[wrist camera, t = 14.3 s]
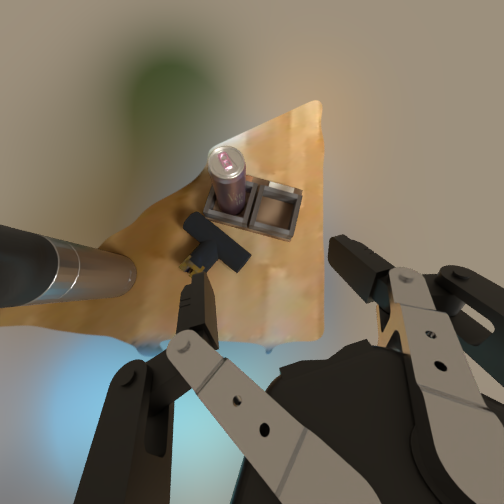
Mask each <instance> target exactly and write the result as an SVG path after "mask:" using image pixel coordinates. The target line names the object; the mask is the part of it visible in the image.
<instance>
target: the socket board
mask: <svg viewBox="0 0 504 504" xmlns="http://www.w3.org/2000/svg"><path fill="white" fill-rule="evenodd" d="M301 200H302V190H300V189H296V188H293V187H289V186H285V185H282V184H278V183H274V182H270V181H267V180H263V179H259V178H255V177H252V176H248V175H246V186H245V207H244V209H243V211H242V212H241V213H239V214H237V215H230V214H226V213H224V212H222V210H221V209H220V207H219V203H218V200H217V197H216V194H215V190H214V187H213V184H212V186H211V189H210V192H209V195H208V198H207V201H206V204H205V207H204V210H203V213H204V215H205V218H207V219H208V220H209V221H213V222H217V223H220V224H224V225H228V226H232V227H235V228H239V229H243V230H246V231H250V232H254V233H258V234H261V235H265V236H269V237H272V238H276V239H280V240H284V241H287V242H290V241H291V238H292V237H293V235H294V231H295V226H296V222H297V218H298V213H299V209H300V205H301Z"/></svg>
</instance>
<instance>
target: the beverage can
mask: <svg viewBox="0 0 504 504" xmlns="http://www.w3.org/2000/svg"><path fill="white" fill-rule="evenodd" d="M208 171H209V174H210V177H211V180H212V184H213V187H214V190H215V194H216V197H217V200H218V203H219V207H220V209H221V210H222V212H224V213H226V214H230V215H237V214H239V213H241V212H242V211H243V209H244V207H245V186H246V164H245V160H244V157H243V155H242V153H241V152H240V151H239V150H237V149H236V148H234V147H230V146H222V147H219V148H217V149H215V150H214V151H213V152H212V153H211V154H210V156H209V159H208Z"/></svg>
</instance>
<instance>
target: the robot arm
mask: <svg viewBox="0 0 504 504" xmlns="http://www.w3.org/2000/svg"><path fill="white" fill-rule="evenodd" d="M328 261H329V263H330V265H331V266H332V267H333V269H334V270H335V271H336V272H337V273H338V274H339V275H340V276H341V277H342V278H343V279H344V280H345V281H346V282H347V283H348V285H349V286H350V287H352V289H353V290H354V291H355V292H356V293H357V294H358V295H359V296H360V297H361V298H362V299H363V300H364V301H365V303H370V302H373V301H375V302H376V303H377V306H376V310H377V322H378V335H379V338H378V345H377V346H371V344H370V343H369V342H368V340H367V339H365V340H362V341H359V342H356V343H353V344H350V345H347V346H345V347H344V348H343V349H341V350H340V351H338V352H337V353H336V354H334V355H333V356H332V357H330V358H329V359H327V360H305V361H299V362H296V363H293V364H290V365H287V366H284V367H281V368H279V369H280V376H278V377H277V378H276V379H274V380H273V381H272V382H271V384H270V385H269V386H268V388H267V389H266V391H264V390H262V389H261V388H260V387H259V386H258V385H257V384H256V383H255V382H254V381H253V380H251V379H250V378H249V377H248V376H247V375H246V374H245V373H244V372H242V371H241V370H240V369H239V368H238V367H237V366H236V365H235V364H234V363H232V362H231V361H230V360H229V359H228V358H223V357H222V356H221V355H220V354H219V353H218V352H216V351H215V350H217V349H219V343H218V331H217V319H216V306H215V296H214V292H213V289H212V286H211V284H210V281H209V279H208V277H207V274H206V272H205V271H204V272H201V273H197V274H193V275H192V283H191V284H189V285H186V286H185V287H184V289H183V291H182V292H181V297H180V305H179V307H180V308H179V313H178V322H177V330H176V335H175V336H174V337H173V338H172V339H171V341H170V342H169V344H168V346H167V349H166V350H164V351H163V352H162V353H160V354H159V355H157V356H155V357H154V358H152V359H151V360H149V361H147V362H146V363H145V362H144V361H143V360H133V361H130V362H129V363H127V364H125V365H124V366H123V367H122V368H120V369H119V370H118V372H117V373H116V374H115V375H114V377H113V379H112V381H111V383H110V386H109V389H108V392H107V396H106V399H105V402H104V405H103V408H102V412H101V415H100V418H99V422H98V425H97V428H96V431H95V435H94V438H93V441H92V444H91V448H90V451H89V454H88V457H87V461H86V464H85V467H84V471H83V474H82V477H81V480H80V484H79V487H78V490H77V493H76V497H75V500H74V503H73V504H169V503H170V485H171V484H170V483H171V464H172V443H173V422H174V401H175V400H176V399H178V398H179V397H181V396H182V395H183V394H184V393H186V392H187V391H189V390H190V389H191V388H192V389H193V390H194V391H195V393H196V395H197V396H198V397H199V399H200V400H201V401H202V402H203V403H204V405H205V406H206V408H207V409H208V410H209V411H210V413H211V414H212V415H213V416H214V418H215V419H216V420H217V421H218V423H219V424H220V425H221V426H222V427H223V429H224V430H225V431H226V433H227V434H228V435H229V437H230V438H231V439H232V440H233V441H234V443H235V444H236V445H237V446H238V448H239V449H240V450H241V452H242V453H243V454H244V458H243V462H242V465H241V468H240V472H239V475H238V478H237V482H236V485H235V488H234V491H233V495H232V498H231V502H230V504H504V404H502V403H500V402H498V401H496V400H494V399H492V398H490V397H488V396H486V395H484V394H482V393H480V391H479V389H478V386H477V384H476V381H475V379H474V376H473V374H472V371H471V369H470V367H469V364H468V362H467V359H466V357H465V355H464V352H465V353H467V354H468V355H469V356H470V357H471V358H472V359H473V360H474V361H475V362H476V363H478V364H479V365H480V366H481V367H482V368H483V369H484V370H485V371H486V372H487V373H489V374H490V375H491V376H492V377H493V378H494V379H495V380H496V381H497V382H498V383H500V384H501V385H502V386H503V387H504V288H502V287H500V286H499V285H497V284H495V283H493V282H492V281H490V280H488V279H486V278H484V277H483V276H481V275H479V274H477V273H476V272H474V271H472V270H470V269H467V268H464V267H460V266H454V265H448V266H444V267H442V268H441V269H440V271H439V272H438V274H423V275H421V274H420V273H418V272H417V271H415V270H412V269H409V268H405V267H394V266H393V265H392V264H390V263H389V262H387V261H386V260H385V259H383V258H382V257H380V256H379V255H378V254H376V253H374V252H373V251H372V250H371V249H368V247H366V246H365V245H364V244H362V243H360V242H357V241H355V240H351V239H349V238H348V237H347V236H345V235H343V234H342V235H339V236H335V237H331V238H330V240H329V249H328ZM135 279H136V268H135V265H134V263H133V262H132V261H131V260H130V259H129V258H128V257H126V256H123V255H119V254H115V253H111V252H107V251H103V250H99V249H95V248H91V247H87V246H83V245H79V244H75V243H71V242H67V241H63V240H59V239H55V238H51V237H47V236H43V235H39V234H34V233H31V232H26V231H22V230H18V229H15V228H11V227H7V226H3V225H0V308H5V307H15V306H26V305H37V304H46V303H57V302H68V301H79V300H90V299H102V298H113V297H118V296H121V295H123V294H125V293H126V292H127V291H129V290H130V289H131V287H132V286H133V284H134V282H135ZM465 304H467V305H469V306H470V307H471V308H473V309H474V310H476V311H477V312H479V313H480V314H481V315H483V316H484V317H486V318H487V319H488V320H490V321H491V322H492V324H493V325H494V328H495V331H494V332H493V333H491V332H490V331H489V330H487V329H486V328H485V327H483V326H482V325H481V324H479V323H478V322H476V321H475V320H474V319H473V318H471V317H470V316H469V315H467V314H466V313H465V312H463V311H462V310H461V309H462V308H463V306H464V305H465ZM463 351H464V352H463Z"/></svg>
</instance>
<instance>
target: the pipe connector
mask: <svg viewBox="0 0 504 504" xmlns="http://www.w3.org/2000/svg"><path fill="white" fill-rule="evenodd" d="M183 229H184V230H185V231H187V232H188V233H189V234H190V235H191V236H193V237H194V238H195V239H196V240H197V241H199V242H200V244H199V246H198V247H197V248H196V249H195V250H194V251H193V252H192V253H191V254H190V255H189V256H188V257H187V258H186V259H185V260H184V262H183V263H182V264H181V265H180V266H179V268H180V269H181V270H183V271H184V272H187V273H190V272H191V271H192V269H193V271H192V272H191V274H190V275H189V276H190V277H191V278H192V275H193V274H197V273H201V272H204V271H205V272H206V274H207V271H208V270H209V269H210V268H211V267H212V266H213V264H214V263H215V262H216V261H217V260H218V259H220V260H222V261H223V262H224V263H225V264H226V265H228V266H229V267H230V268H231V269H233V270H234V271H235V272H236V273H238V272H239V271H240V269H241V268H242V267H243V266H244V265H245V264H246V262H247V261H248V260H249V258H250V257H251V254H250V253H249V252H247V251H246V250H245V249H244V248H243V247H241V246H240V245H239V244H238V243H236V242H235V241H234V240H233V239H231V238H230V237H229V236H228V235H226V234H225V233H224V232H223V231H222V230H220V229H219V228H218V227H217V226H215V225H214V224H213V223H212V222H210V221H209V220H208V219H207V218H205V217H204V216H203V215H202V214H200V213H199V212H194V213H192V214H191V215H190V216H189V217H188V218H187V219H186V221H185V222H184V225H183Z"/></svg>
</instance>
